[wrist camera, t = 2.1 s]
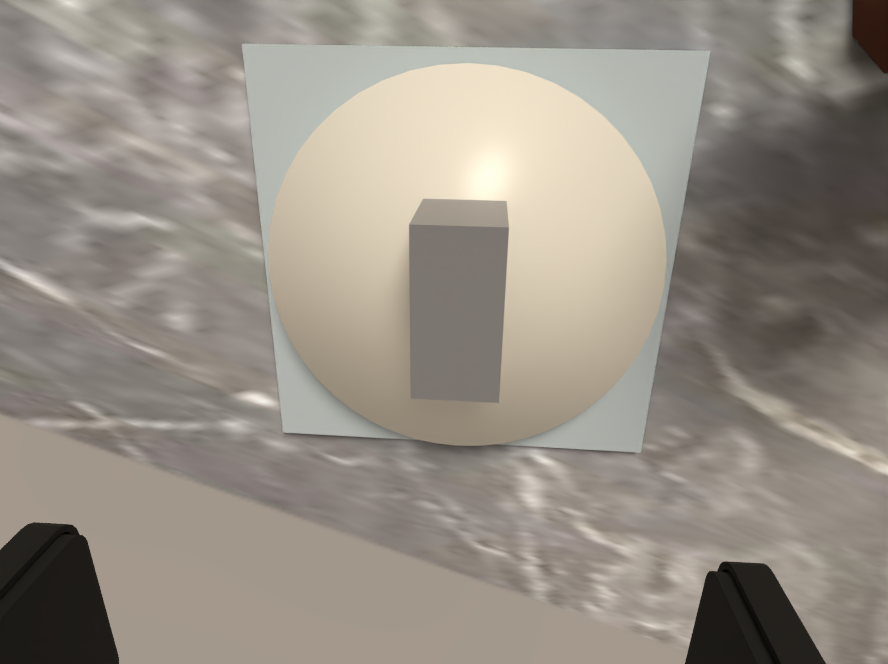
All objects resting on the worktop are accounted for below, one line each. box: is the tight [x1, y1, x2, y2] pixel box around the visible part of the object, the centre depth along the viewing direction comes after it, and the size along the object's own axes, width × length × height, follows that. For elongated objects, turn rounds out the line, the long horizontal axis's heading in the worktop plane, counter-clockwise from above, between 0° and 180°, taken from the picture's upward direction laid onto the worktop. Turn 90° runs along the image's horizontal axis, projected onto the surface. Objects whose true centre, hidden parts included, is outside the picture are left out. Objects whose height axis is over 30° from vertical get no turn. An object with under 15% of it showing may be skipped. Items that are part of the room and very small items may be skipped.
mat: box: [242, 44, 710, 453], centre depth 24 cm, size 16×16×1 cm
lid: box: [268, 63, 667, 446], centre depth 22 cm, size 15×15×5 cm
